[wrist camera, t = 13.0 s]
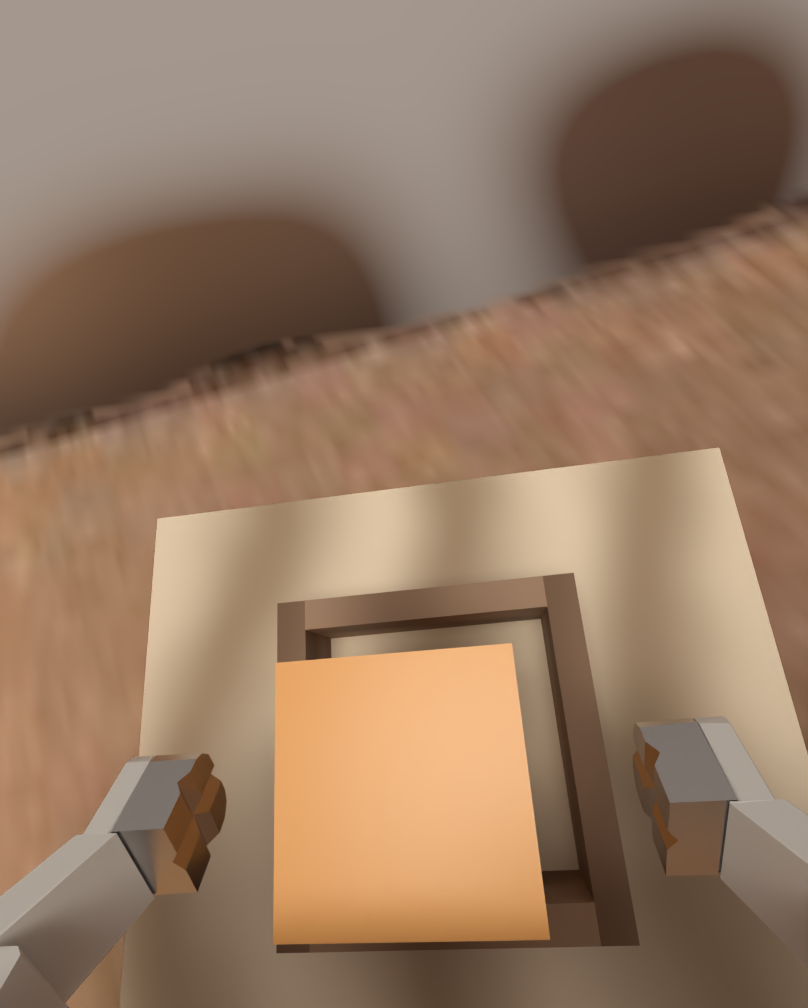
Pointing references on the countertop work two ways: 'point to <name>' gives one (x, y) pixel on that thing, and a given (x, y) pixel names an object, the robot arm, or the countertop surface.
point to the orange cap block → (404, 801)
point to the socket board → (545, 718)
